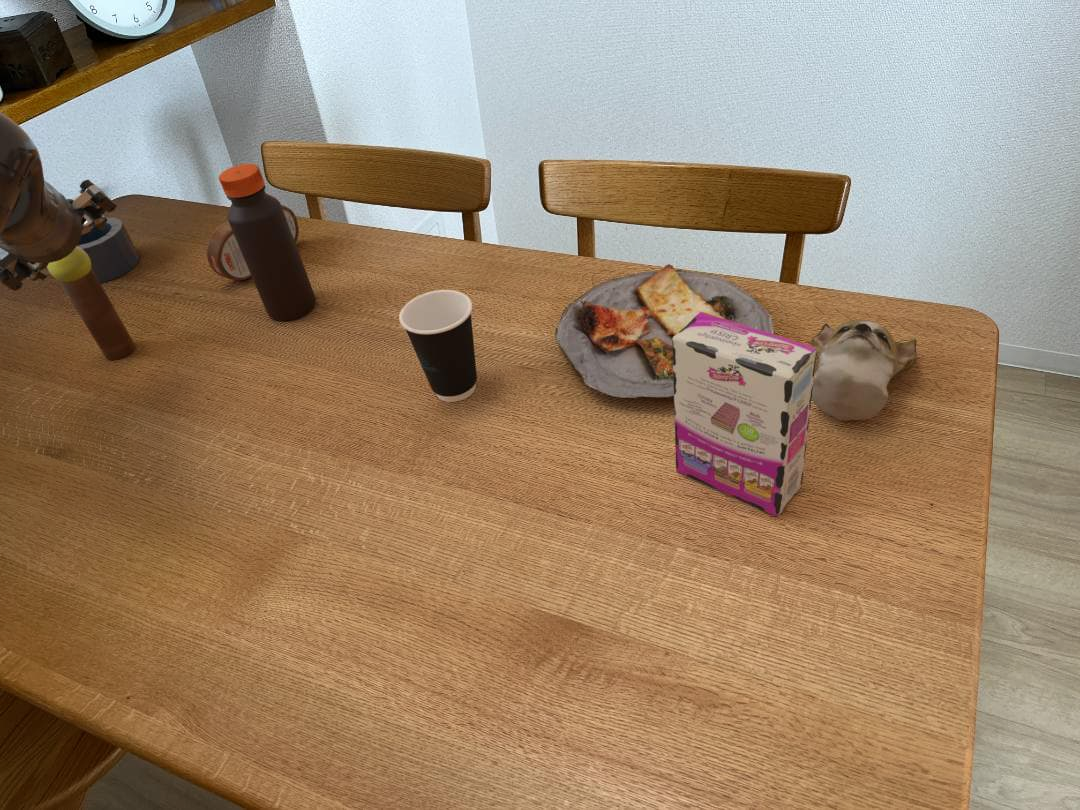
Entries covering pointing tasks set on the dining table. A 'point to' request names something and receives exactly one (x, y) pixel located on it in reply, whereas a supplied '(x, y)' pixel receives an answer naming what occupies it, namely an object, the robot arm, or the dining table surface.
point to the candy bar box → (742, 409)
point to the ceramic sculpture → (857, 368)
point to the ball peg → (92, 304)
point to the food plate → (646, 327)
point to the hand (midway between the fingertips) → (68, 247)
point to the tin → (236, 249)
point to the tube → (109, 250)
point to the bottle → (267, 244)
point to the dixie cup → (443, 341)
